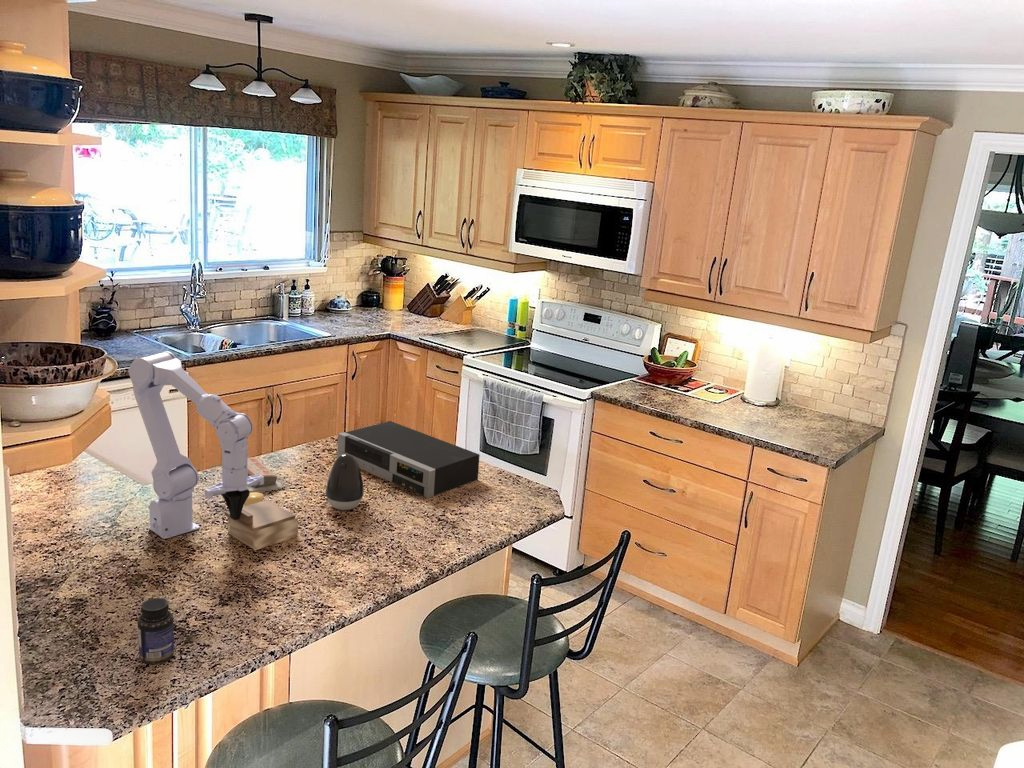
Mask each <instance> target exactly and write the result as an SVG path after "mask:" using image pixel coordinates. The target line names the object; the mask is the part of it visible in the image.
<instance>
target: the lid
mask: <svg viewBox="0 0 1024 768" xmlns="http://www.w3.org/2000/svg"><path fill="white" fill-rule="evenodd" d="M224 516H225V517H227V518H228V517H229V518H231V517H230V513H229V510H227V511H225V512H224ZM295 516H296V514H293V513H292V512H290V511H288V510H287V509H284V508H283V507H281V506H280V505H278V504H276V503H274V502H273V501H271V500H268V499H266V500H263V501H262V502H258V503H255V504H251V505H248V506H243V508H242V512H241V515H240V519H237V520H234V519H232V518H231V519H232V520H234V521H236V522H237V523H239V524H240V525H242V526H244V527H245V528H247V529H249V530H250V531H252V532H253V531H257V530H260V529H263V528H266V527H269V526H272V525H276V524H279V523H282V522H285V521H288V520H291V519H295Z"/></svg>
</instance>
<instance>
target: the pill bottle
mask: <svg viewBox="0 0 1024 768" xmlns="http://www.w3.org/2000/svg"><path fill="white" fill-rule="evenodd" d="M169 608H170V606H169V601H168V600H167V599H166V598H164V597H154V598H149V599H146V600H144V601H143V602H142V604H141V606H140V612H141V614H140V615H139V617H138V618H137V637H138V638H137V641H138V658H139V660H140V661H141V662H142V663H144V664H147V665H159V664H163V663H166V662H168V661H169V660H171V659H172V658H173V657H174V655H175V638H174V637H175V636H174V635H175V634H174V633H175V632H174V631H175V630H174V616H173V613H172V612H171V611H170V610H169Z"/></svg>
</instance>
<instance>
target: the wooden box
mask: <svg viewBox="0 0 1024 768" xmlns="http://www.w3.org/2000/svg"><path fill="white" fill-rule="evenodd" d="M227 521H228V522H227V527H228V528H227V530H228V531H227V533H228V534H229V533H230V534H229V535H230V536H232V537H234V538H235V539H237V540H239V541H240V542H242V543H243V544H245V545H247V546H248V547H250V548H252V549H253V550H254V551H259V550H260V549H263V548H267V547H269V546H273V545H275V544H278V543H282V542H284V541H287V540H290V539H293V538H296V537H298V536H299V534H298V533H299V517H298V516H296V515H295V519H291V520H288V521H285V522H282V523H279V524H276V525H272V526H269V527H266V528H263V529H260V530H257V531H253V532H252V531H250V530H249V529H247V528H245V527H244V526H242V525H240V524H239V523H237V522H236V521H234V520H232V519H231V518H229V517H227Z"/></svg>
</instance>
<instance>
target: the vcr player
mask: <svg viewBox="0 0 1024 768" xmlns="http://www.w3.org/2000/svg"><path fill="white" fill-rule="evenodd" d="M336 448H337V450H336V452H337V453H336V456H337V457H338V456H340V455H342V454H350V455H352V456H353V457H354V458H355V459H356V461H357V463H358V465H359V468H360V470H363V471H364V472H366V473H370V474H372V475H374V476H376V477H378V478H381V479H383V480H386V481H388V482H390V483H392V484H395V485H398V486H399V487H402V488H404V489H406V490H408V491H411V492H413V493H416V494H417V495H420V496H423V497H424V498H426V499H429V498H433V497H434V496H437V495H440V494H442V493H445V492H448V491H450V490H453V489H456V488H459V487H462V486H464V485H468V484H470V483H472V482H475V481H478V480H479V468H480V467H479V465H480V453H477V452H474V451H472V450H469V449H466V448H463V447H461V446H458V445H455V444H453V443H450V442H446V441H445V440H442V439H439V438H437V437H435V436H431V435H430V434H429V435H428V434H426V433H423V432H420V431H418V430H415V429H412V428H410V427H407V426H405V425H402V424H399V423H397V422H394V421H391V420H389V421H385V422H381V423H377V424H372V425H368V426H365V427H360V428H358V429H357V428H356V429H353V430H350V431H346V432H345V431H343V432H339V433H338V434H337V447H336ZM337 457H336V458H337Z"/></svg>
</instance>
